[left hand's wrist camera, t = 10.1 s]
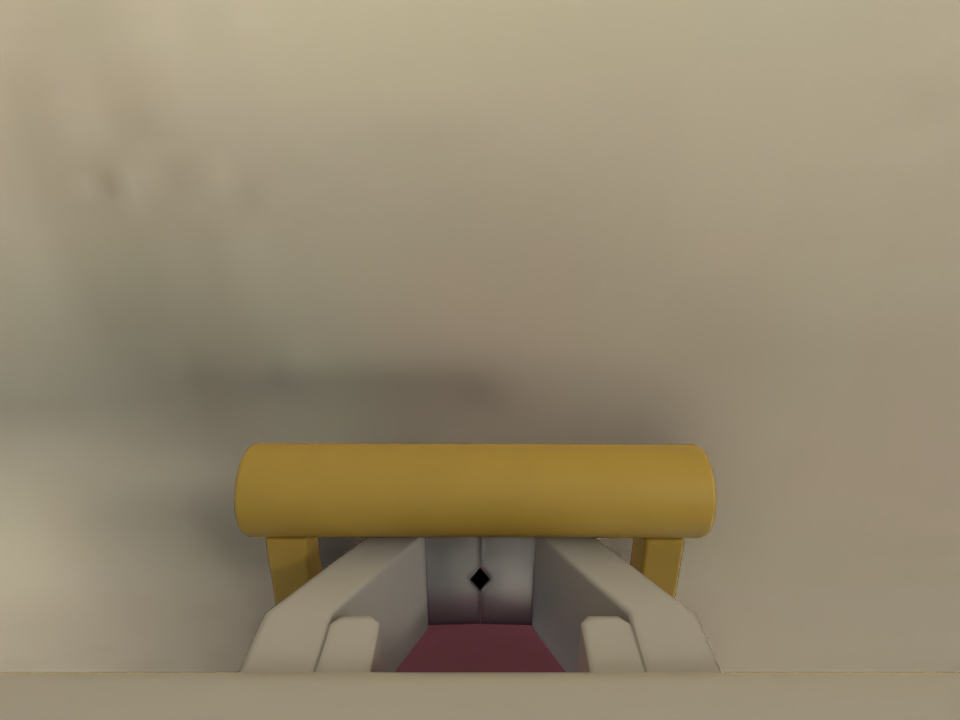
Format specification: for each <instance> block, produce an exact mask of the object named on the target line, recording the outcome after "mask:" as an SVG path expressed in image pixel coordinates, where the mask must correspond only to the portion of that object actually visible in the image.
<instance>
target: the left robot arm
mask: <svg viewBox="0 0 960 720" xmlns="http://www.w3.org/2000/svg"><path fill="white" fill-rule="evenodd" d="M455 624H504V625H532V628H533V630H534V631H535V632H536V634H537V635H538V636H539V638H540V639H541V640H542V642H543V643H544V644H545V646H546V647H547V648H548V649H549V651H550V652H551V653H552V655H553V656H554V657H555V659H556V660H557V661H558V663H559V664H560V665H561V666H562V668H563V669H564V670H565V672H395V671H396V670H397V668H398V667H399V666H400V665H401V663H402V662H403V661H404V659H405V658H406V657H407V655H408V654H409V653H410V652H411V650H412V649H413V648H414V646H415V645H416V644H417V642H418V641H419V640H420V639H421V637H422V636H423V635H424V633H425V632H426V631H427V629H428V625H455ZM0 720H960V672H721V671H720V668H719V666H718V664H717V661H716V659H715V657H714V655H713V652H712V650H711V648H710V646H709V643H708V641H707V639H706V637H705V634H704V632H703V630H702V628H701V625H700V623H699V621H698V619H697V616H696V614H694V613H693V612H692V611H690V610H689V609H688V608H686V607H685V606H684V605H682V604H681V603H680V602H678V601H677V600H676V599H674V598H673V597H672V596H670V595H669V594H668V593H667V592H665V591H664V590H663V589H661V588H660V587H659V586H657V585H656V584H655V583H653V582H652V581H651V580H649V579H648V578H647V577H645V576H644V575H643V574H641V573H640V572H639V571H637V570H636V569H635V568H634V567H632V566H631V565H630V564H628V563H627V562H626V561H624V560H623V559H622V558H620V557H619V556H618V555H616V554H615V553H614V552H612V551H611V550H610V549H608V548H607V547H606V546H605V545H603V544H602V543H601V542H599V541H598V540H597V539H595V538H510V537H366V538H365V539H364V540H362V541H361V542H360V543H358V544H357V545H356V546H354V547H353V548H352V549H350V550H349V551H348V552H346V553H345V554H344V555H342V556H341V557H340V558H338V559H337V560H336V561H334V562H333V563H332V564H331V565H329V566H328V567H327V568H325V569H324V570H323V571H321V572H320V573H319V574H317V575H316V576H315V577H313V578H312V579H311V580H309V581H308V582H307V583H305V584H304V585H303V586H301V587H300V588H299V589H297V590H296V591H295V592H293V593H292V594H291V595H289V596H288V597H287V598H285V599H284V600H283V601H281V602H280V603H279V604H278V605H276V606H275V607H274V608H272V609H271V610H270V611H268V612H267V613H266V614H265V615H264V618H263V620H262V622H261V624H260V627H259V629H258V631H257V633H256V635H255V638H254V640H253V642H252V644H251V647H250V649H249V651H248V653H247V656H246V658H245V660H244V662H243V664H242V667H241V669H240V671H239V672H0Z"/></svg>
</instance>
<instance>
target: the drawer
mask: <svg viewBox="0 0 960 720" xmlns="http://www.w3.org/2000/svg"><path fill="white" fill-rule="evenodd" d="M234 507H235V516H236V521H237V524H238V527H239V529H240V530H241V532H242V533H243V534H245V535H247V536H249V537H267V538H266V547H267V553H268V559H269V565H270V571H271V578H272V584H273V590H274V596H275V603H276V605H278V604H279V603H280V602H281V601H283V600H284V599H285V598H287V597H288V596H289V595H291V594H292V593H293V592H295V591H296V590H297V589H299V588H300V587H301V586H303V585H304V584H305V583H307V582H308V581H309V580H311V579H312V578H313V577H315V576H316V575H317V574H319V573H320V572H321V571H322V569H321V561H320V552H319V544H318V537H510V538H633V546H632V554H631V562H630V565H631V566H632V567H634V568H635V569H636V570H637V571H639V572H640V573H641V574H643V575H644V576H645V577H647V578H648V579H649V580H651V581H652V582H653V583H655V584H656V585H657V586H659V587H660V588H661V589H663V590H664V591H665V592H667V593H668V594H669V595H670V596H672V597H673V598H674V599H675V594H676V588H677V582H678V576H679V570H680V564H681V558H682V552H683V546H684V540H683V538H702V537H704V536H706V535H707V534H708V533H709V532H710V530H711V528H712V526H713V523H714V518H715V512H716V488H715V481H714V476H713V471H712V468H711V465H710V462H709V459H708V457H707V455H706V454H705V452H704V451H703V450H702V449H701V448H700V447H698V446H696V445H685V444H400V443H256V444H254V445H252V446H250V447H249V448H248V449H247V450H246V452H245V454H244V455H243V457H242V460H241V462H240V465H239V468H238V472H237V477H236V483H235V492H234ZM395 672H565V670H564V669H563V668H562V666H561V665H560V664H559V663H558V661H557V660H556V659H555V657H554V656H553V655H552V653H551V652H550V651H549V649H548V648H547V647H546V646H545V644H544V643H543V642H542V640H541V639H540V638H539V636H538V635H537V634H536V632H535V631H534V630H533V628H532V625H504V624H455V625H428V629H427V631H426V632H425V633H424V635H423V636H422V637H421V639H420V640H419V641H418V642H417V644H416V645H415V646H414V648H413V649H412V650H411V652H410V653H409V654H408V655H407V657H406V658H405V659H404V661H403V662H402V663H401V665H400V666H399V667H398V668H397V670H396V671H395Z"/></svg>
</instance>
